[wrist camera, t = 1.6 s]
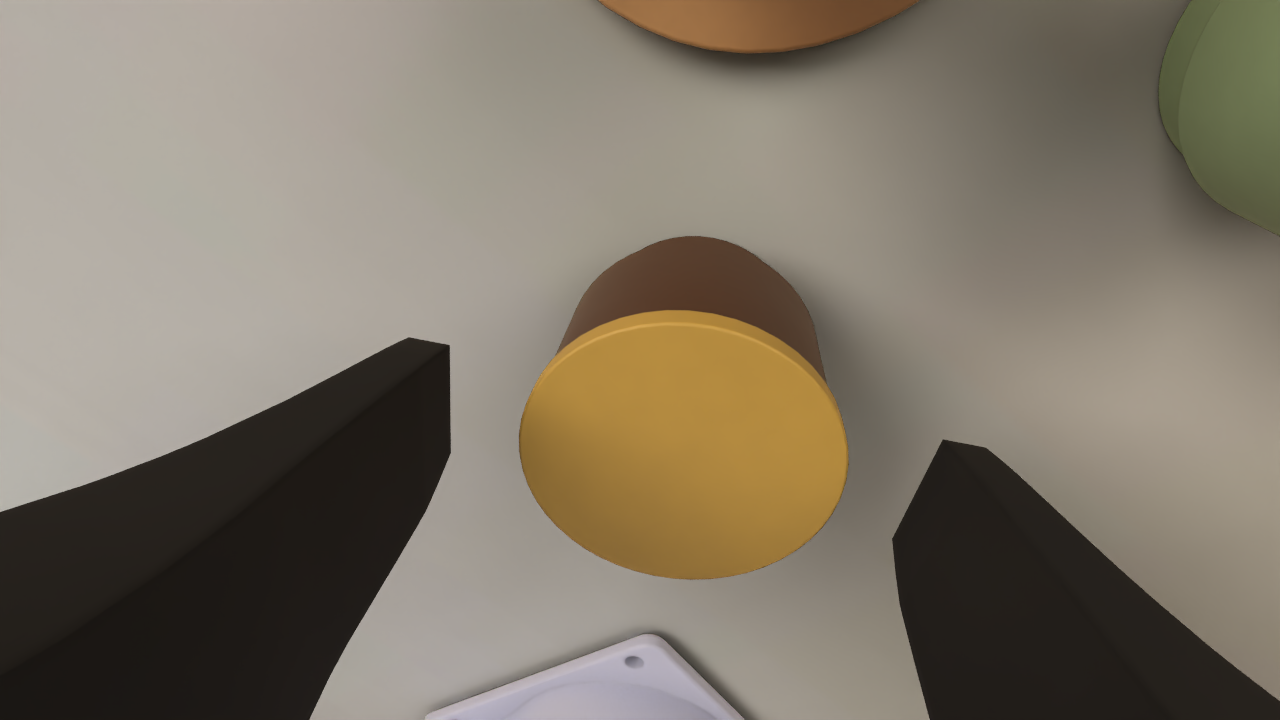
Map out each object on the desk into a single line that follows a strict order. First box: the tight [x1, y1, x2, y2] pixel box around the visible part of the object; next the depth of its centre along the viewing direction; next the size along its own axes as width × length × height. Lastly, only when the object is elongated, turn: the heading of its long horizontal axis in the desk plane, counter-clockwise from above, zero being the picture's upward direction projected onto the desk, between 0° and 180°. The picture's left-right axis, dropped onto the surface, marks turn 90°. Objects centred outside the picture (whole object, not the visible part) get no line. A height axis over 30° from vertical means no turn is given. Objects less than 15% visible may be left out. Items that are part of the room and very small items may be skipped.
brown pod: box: [519, 236, 849, 580], centre depth 11 cm, size 5×5×4 cm
